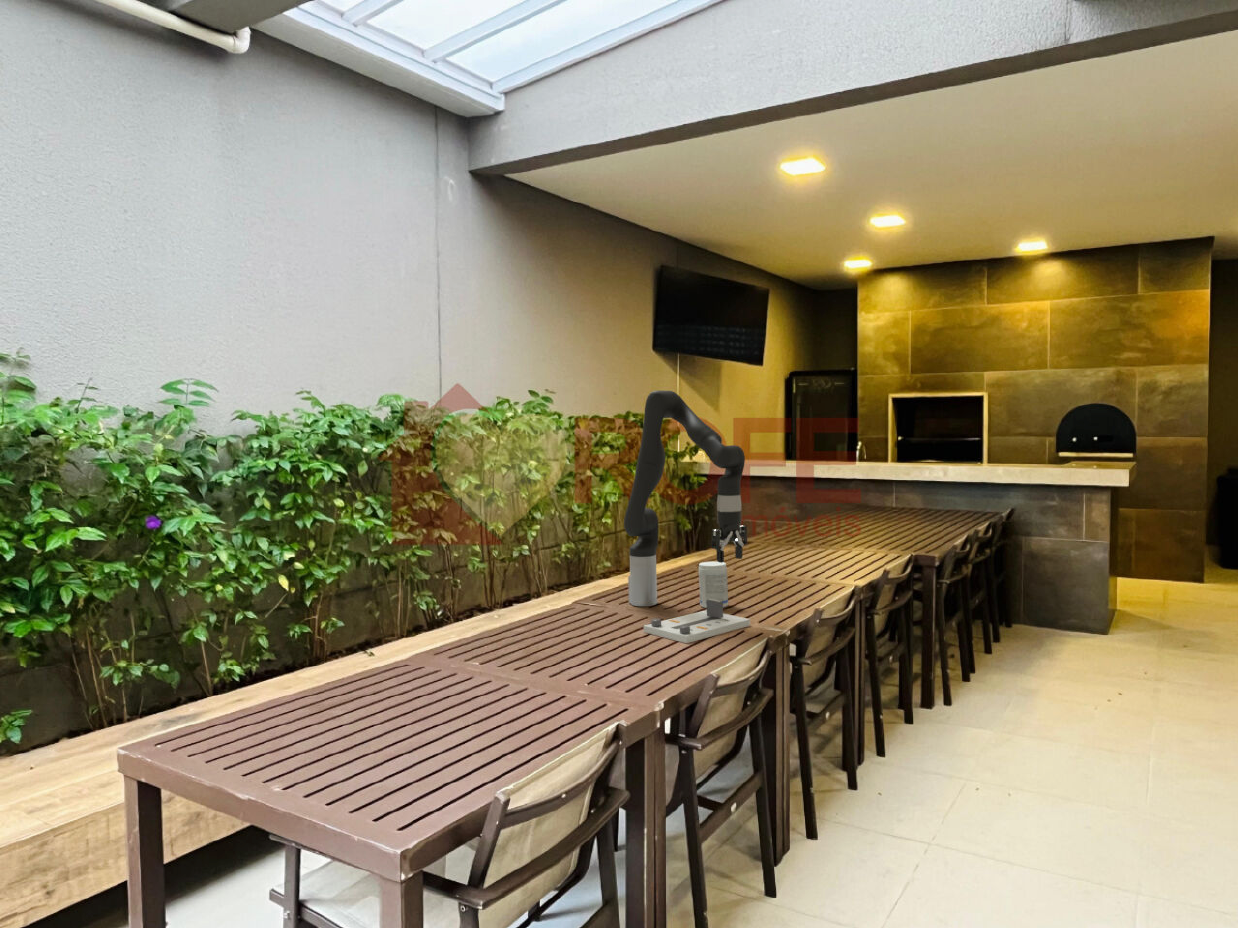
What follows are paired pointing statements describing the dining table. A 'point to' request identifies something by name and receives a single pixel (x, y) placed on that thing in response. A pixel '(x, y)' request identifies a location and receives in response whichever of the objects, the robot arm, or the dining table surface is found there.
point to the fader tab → (715, 608)
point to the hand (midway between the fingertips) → (729, 560)
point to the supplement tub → (713, 582)
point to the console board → (695, 626)
